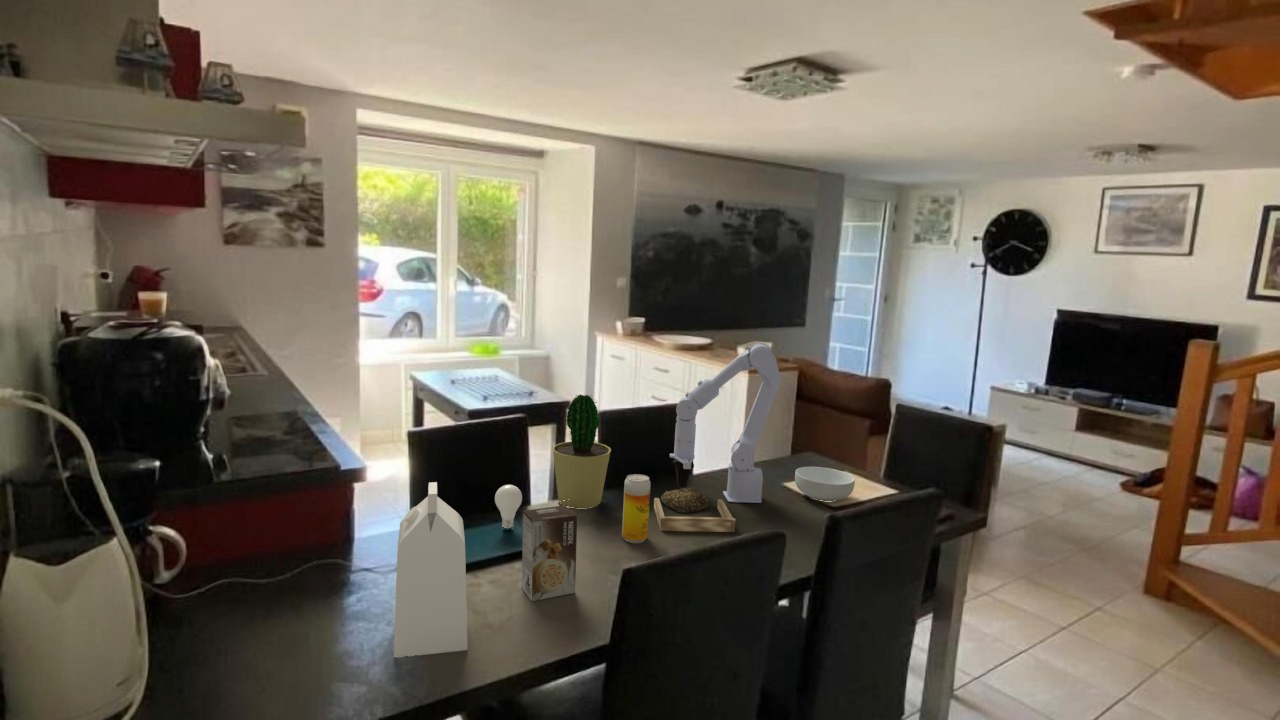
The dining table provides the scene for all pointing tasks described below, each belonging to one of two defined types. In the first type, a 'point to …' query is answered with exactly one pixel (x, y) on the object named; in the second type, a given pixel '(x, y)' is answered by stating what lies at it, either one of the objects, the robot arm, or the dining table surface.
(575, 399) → the potted cactus
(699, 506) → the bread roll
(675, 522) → the tray
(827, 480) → the cereal bowl
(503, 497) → the lightbulb
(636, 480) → the beer can
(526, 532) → the coffee box
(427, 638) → the milk
